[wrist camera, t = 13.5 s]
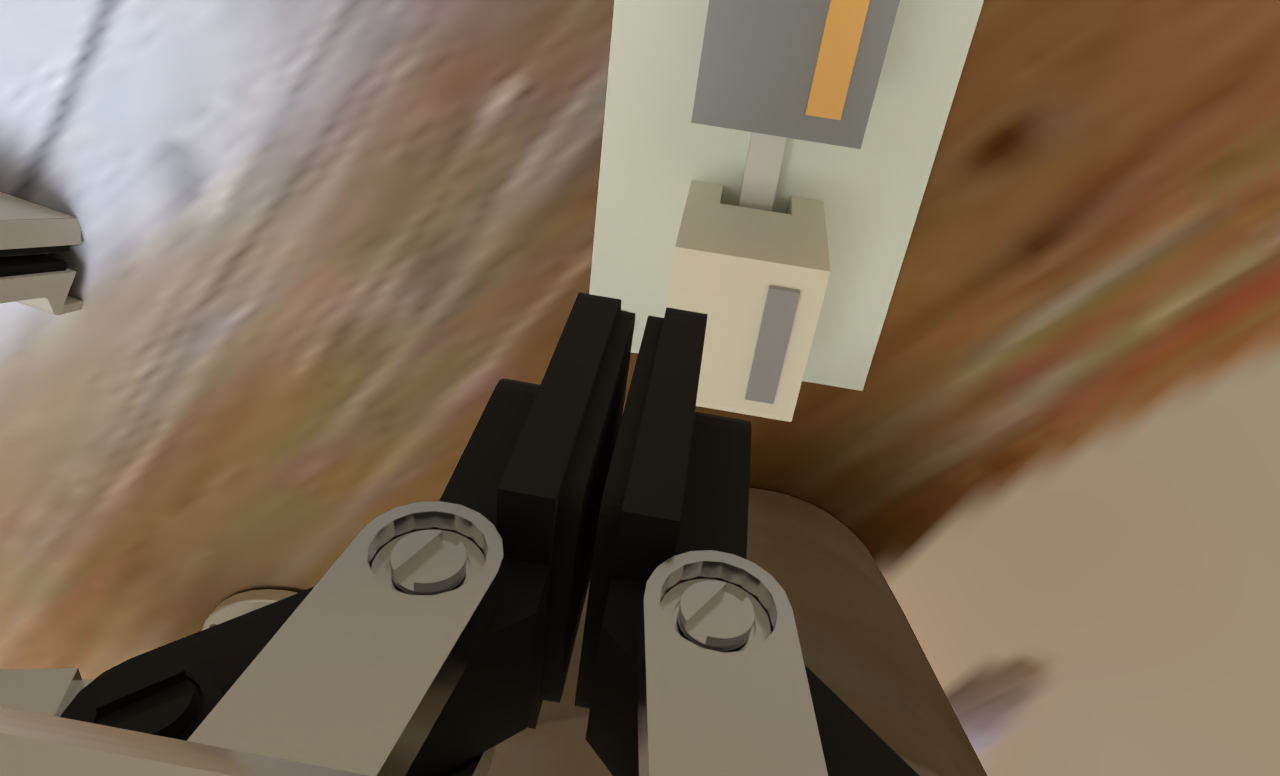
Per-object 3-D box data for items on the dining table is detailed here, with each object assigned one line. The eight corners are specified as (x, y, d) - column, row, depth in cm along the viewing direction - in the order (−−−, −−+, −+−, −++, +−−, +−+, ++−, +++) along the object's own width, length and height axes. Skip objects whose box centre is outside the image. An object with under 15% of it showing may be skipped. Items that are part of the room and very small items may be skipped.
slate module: (847, 93, 30) (861, 151, 25) (705, 71, 30) (690, 125, 25) (896, -103, 27) (922, -82, 22) (736, -126, 27) (725, -110, 22)
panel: (860, 375, 38) (864, 406, 36) (589, 330, 38) (579, 359, 36) (1025, -165, 26) (1045, -163, 24) (638, -217, 27) (627, -219, 25)
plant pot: (441, 422, 42) (193, 867, 25) (972, 352, 36) (1154, 874, 19) (581, 737, 55) (485, 1181, 37) (991, 724, 49) (1110, 1246, 31)
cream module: (790, 337, 36) (791, 426, 31) (670, 317, 36) (652, 402, 31) (823, 201, 32) (830, 275, 27) (691, 180, 33) (674, 250, 28)
